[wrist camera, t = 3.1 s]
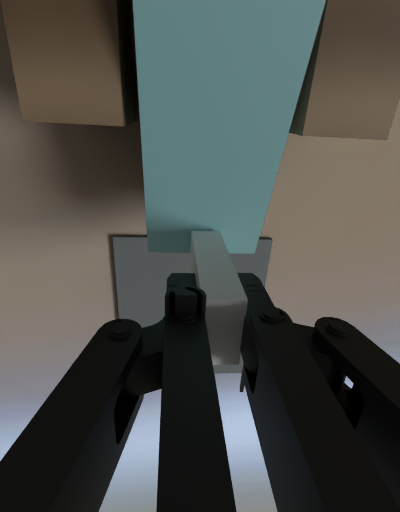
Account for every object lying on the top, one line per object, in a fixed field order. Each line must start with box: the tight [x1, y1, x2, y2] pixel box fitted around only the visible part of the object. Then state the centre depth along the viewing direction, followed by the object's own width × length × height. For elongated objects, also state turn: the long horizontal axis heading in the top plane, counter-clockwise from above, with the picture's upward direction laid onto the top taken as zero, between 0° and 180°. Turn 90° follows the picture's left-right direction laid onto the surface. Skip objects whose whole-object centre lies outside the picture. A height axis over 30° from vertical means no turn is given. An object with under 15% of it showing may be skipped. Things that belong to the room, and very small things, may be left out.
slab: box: [133, 0, 326, 254], centre depth 14 cm, size 13×6×4 cm, turn 177°
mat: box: [113, 235, 272, 373], centre depth 26 cm, size 14×12×1 cm
